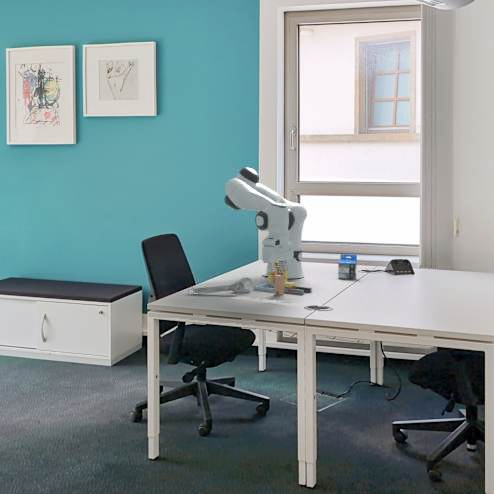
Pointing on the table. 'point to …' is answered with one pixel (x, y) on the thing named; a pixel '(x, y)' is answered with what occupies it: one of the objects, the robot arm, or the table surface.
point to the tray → (264, 287)
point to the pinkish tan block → (279, 285)
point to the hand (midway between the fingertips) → (278, 271)
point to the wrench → (225, 287)
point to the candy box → (277, 272)
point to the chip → (290, 285)
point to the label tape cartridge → (347, 266)
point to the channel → (298, 290)
